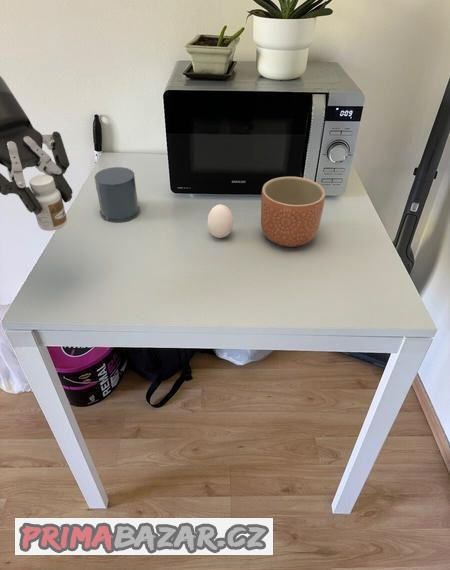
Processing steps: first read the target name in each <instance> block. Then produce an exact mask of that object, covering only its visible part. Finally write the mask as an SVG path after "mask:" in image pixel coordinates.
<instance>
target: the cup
mask: <svg viewBox="0 0 450 570" xmlns="http://www.w3.org/2000/svg"><path fill="white" fill-rule="evenodd" d="M94 183H95V188H96V193H97V199H98V204H99V208H100V210H99V214H100V217H101V218H102V219H103V220H104V221H106V222H109V223H116V224H117V223H126V222H129V221H132V220H135V219H136V218H137V217H139V215H140V214H141V206H140V205H139V198H138V192H137V185H136V177H135V172H134V171H133V170H132V169H130V168H127V167H121V166H113V167H108V168H104V169H101V170H99V171H98V172H96V173H95V175H94Z"/></svg>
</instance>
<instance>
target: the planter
mask: <svg viewBox="0 0 450 570" xmlns="http://www.w3.org/2000/svg"><path fill="white" fill-rule="evenodd" d="M260 198H261V199H260V224H261V226H260V227H261V230H262V233H263V234H264V236H265V237H266V238H267V239H268V240H269V241H270V242H272V243H274V244H275V245H278V246H281V247H286V248H296V247H300V246H304V245H306V244H308V243H310V242H311V241H312V240H313V239H314V238H315V236H317V233H318V231H319V228H320V224H321V219H322V215H323V211H324V206H325V201H326V191H325V189H324V187H323V186H322V185H320V184H319V183H318V182H316V181H314V180H311V179H308V178H305V177H299V176H280V177H276V178H272V179H270V180H268V181H267V182H265V183H264V184H263V186H262V189H261V197H260Z"/></svg>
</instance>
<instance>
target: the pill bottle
mask: <svg viewBox="0 0 450 570" xmlns="http://www.w3.org/2000/svg"><path fill="white" fill-rule="evenodd" d="M28 185H29V188H30V189H31V191H32V192H33V194H34V195H35V197H36V198H37V200H38V202H39V203H40V205H41V206H42V212H41V213H40V214H37V215H35V219H36V221H37V225H38V228H40V230H43V231H46V232H52V231H58V230H60V229H62V228H64V227H65V226H66V225H67V224H68V218H67V213H66V209H65V205H64V201H63V199H62V197H61V193H60V191H59V190H58V189H56V188H55V187H56V186H55V183H54V179H53V177H52V176H50V175H46V174H39V175H34V176H33V177H31V178H30V179H29V181H28Z"/></svg>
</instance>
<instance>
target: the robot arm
mask: <svg viewBox="0 0 450 570" xmlns="http://www.w3.org/2000/svg"><path fill="white" fill-rule="evenodd" d="M43 145H45V147H46V148H47V149H48V150H49V151H51V152H52V156H53V160H52V157H51V156H50V154H48V153H47V152H46V151H45V150H44V149H43ZM70 164H71V163H70V160H69V157H68V154H67V151H66V148H65V145H64V141H63V138H62V135H61V133H60V132H58V131H55V130H54V131H52V134H41V132H40V131H39V130H37V129H35V127H34V126H33V125H32V122H31V120H30V119H29V117H28V116H27V114H26V112H25V110H24V109H23V107H22V106H21V104H20V103H19V101H18V99H17V98H16V96H15V95H14V93H13V92H12V90H11V89H10V87H9V85H8V84H7V83H6V81H5V80H4V78H3V77H2V76H1V75H0V165H1V166H3V167H5V168H6V170H7V174H8V178H9V179H8V178H7V177H5V175H3V173H1V172H0V194H1V195H2V196H8V195H9V194H10V195H11V194H12V195H13V194H15V195H16V196H17V197H18V198H19V199H20V201H21V202H22V203H23V205H24V207H25V208H26V210H27V211H28V212H29V213H30V214H31V213H33V214H34V215H35V216H36V215H37V214H40V213H41V212H42V206H41V205H40V203H39V202H38V200H37V198H36V197H35V195H34V194H33V192H32V190H31V187H30V186H26V185H27V183H26V180H25V177H24V172H23V170H25V169H27V168H33V167H35V169H36V170H38V171H39V172H41V173H43V174H44V175H50V176H52V177H53V179H54V183H55V186H56V187H55V188H56V189H58V190H59V191H60V193H61V197H62V201H63V203H66V204H67V203H68V202H70V201H72V198H73V189H72V187H71V186H70V184H69V183H68V181H67V179H66V178H65V176H64V174H66V172H67V170H68V168H69V167H70Z"/></svg>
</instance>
